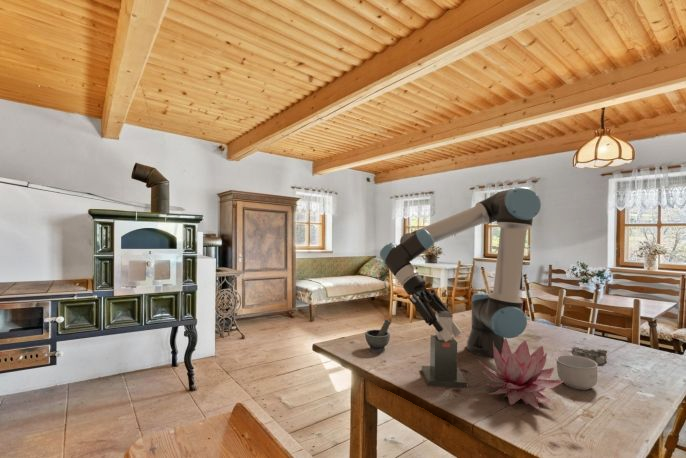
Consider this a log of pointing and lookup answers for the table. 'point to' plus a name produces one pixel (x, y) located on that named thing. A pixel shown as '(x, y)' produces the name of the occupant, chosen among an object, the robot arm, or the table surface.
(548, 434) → the table surface
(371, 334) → the mortar and pestle
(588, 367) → the teacup
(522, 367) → the decorative flower
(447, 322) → the steel post
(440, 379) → the sleeve
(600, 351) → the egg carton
